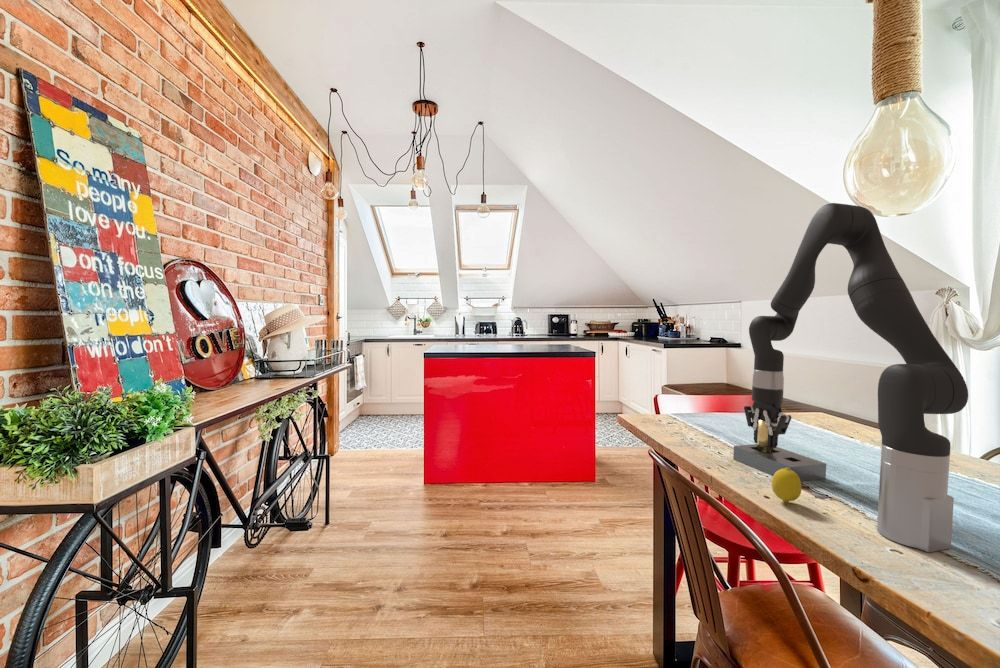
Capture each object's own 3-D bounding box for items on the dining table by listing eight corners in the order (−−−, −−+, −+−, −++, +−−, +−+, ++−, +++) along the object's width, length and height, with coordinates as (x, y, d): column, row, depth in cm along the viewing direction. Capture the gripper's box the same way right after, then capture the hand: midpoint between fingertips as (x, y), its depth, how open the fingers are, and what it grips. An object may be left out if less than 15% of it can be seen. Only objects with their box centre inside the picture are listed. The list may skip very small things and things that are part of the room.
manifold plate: (733, 459, 125) (733, 445, 124) (765, 456, 128) (766, 443, 128) (789, 482, 107) (790, 467, 107) (825, 478, 111) (826, 463, 110)
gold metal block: (776, 456, 120) (778, 421, 119) (765, 457, 119) (766, 422, 118) (764, 452, 124) (765, 418, 123) (753, 453, 123) (754, 418, 122)
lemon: (791, 498, 98) (792, 464, 98) (806, 509, 92) (808, 472, 92) (766, 496, 98) (767, 462, 98) (779, 507, 93) (781, 471, 93)
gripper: (801, 389, 115) (798, 452, 115) (756, 381, 128) (754, 437, 129) (779, 390, 113) (777, 454, 113) (736, 382, 126) (734, 439, 127)
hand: (765, 445), depth 121 cm, fingers closed on gold metal block, 4 cm apart
